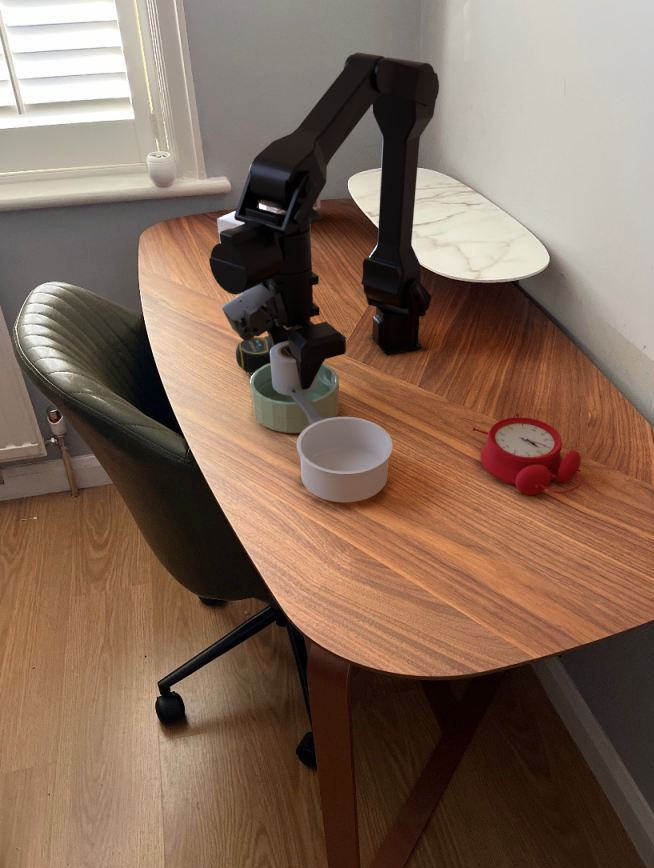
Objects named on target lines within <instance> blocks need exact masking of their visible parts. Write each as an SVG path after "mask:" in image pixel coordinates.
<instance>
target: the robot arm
mask: <svg viewBox="0 0 654 868" xmlns="http://www.w3.org/2000/svg"><path fill="white" fill-rule="evenodd" d="M439 91H440V80H439V75H438V72H435V70H434V67H433V66H432V64H430V63H429V62H422V61H415V60H409V59H401V58H394V57H387V56H383V55H379V54H373V53H372V54H371V53H366V52H355V53H353V54H350V55H349V56H347V58H346V60H345V62H344V65H343V69H342V70H341V72H340V74H338V76H337V77H336V79H335V80H334V81H333V82H332V84H330V86H329V87H328V89H327V90H326V91H325V92H324V93H323V95H322V96H321V97H320V99H319V100H318V101H317V102H316V104H315V105H314V106H313V108H311V110H310V111H309V113H308V114H307V116H305V118H304V119H303V121H302V122H301V123H300V124H299V125H298V127H297V128H295V129H294V131H292V132H291V133H289V134H287V135H285V136H282V137H279V138H277V139H275V140H273V141H272V142H270V143H269V144H268V145H267V146H266V147H265V148H263V150H261V151H260V152H259V153H258V154H257V155H256V156H255V157H254V158H253V161H252V162H251V164H250V166H249V168H248V175H247V178H246V180H245V183H244V186H243V189H242V193H241V195H240V198H239V200H238V201H239V202H238V204H237V207H236V210H235V211H236V212H235V215H234V219H235V220H237V221H240V222H244V224H242V225H240V226H237V227H235V228H228V229H225V230H223V231H221V232H220V240H219V243H217V244H215V245H214V246H213V247H212V249H211V252H210V257H209V259H208V262H209V267H210V271H211V274H212V277H213V278H214V280H215V281H216V283H217V284H218V286H219V287H221V289H222V290H223V291H225V292H226V293H228V294H230V295H237V296H235V297H234V298H232V299H231V300H229V301H227V302H226V303H225V304H223V306H222V308H221V310H222V311H223V314H224V315H225V318H226V319H227V321H228V323H229V325H230V327H231V328H232V330H233V331H234V332H235V333H236V334H237V335H238V336H239V337H240V339H242V341H243V340H249V339H252V338H253V337H261V335H263V334H264V333H266V334H267V336H269V338H270V341H271V343H272V346H275V345H276V344H278V343H281V342H284V341H289V348H285V351H286V352H287V353H288V354H289V355H290V356H292V357H293V358H294V359H295V360H296V365H297V370H298V375H299V380H300V384H301V388H302V389H303V390H305V389H309V388H310V387H311V385H312V383H313V381H314V379H315V377H316V375H317V373H318V371H319V369H320V367H321V365H322V364H324V362H325V360H329V359H331V358H335V357H339V356H343V355H345V354H346V352H347V337H346V336H345V335H344V334H343V333H341V332H340V331H339V330H337V328H335V327H334V326H333V325H332V324H330V323H329V322H328V321H323V322H318V323H314V322H313V321H312V320H311V318H312V317H317V316H320V315H321V314H320V313H321V311H320V307H319V306H318V305H317V304H316V303H315V302H314V290H313V289H314V287H313V286H316V285H320V276H319V275H318V274H317V273H315V272H314V271H313V264H312V263H313V261H312V237H311V235H312V234H311V225H313V224H316V223H317V222H320V221H321V220H322V214H321V213H319V212H318V210H314V209H313V207H314V205H315V204H316V203H317V198H318V197H319V195H320V196H321V193H322V191H323V189H324V188H325V186H326V184H327V175H328V174H327V171H328V170H327V169H328V165H329V163H330V161H331V159H332V158H333V157H334V155H335V154H336V153H337V151H338V150H339V149H340V147H341V146H342V145H343V143H344V142H345V141H346V140H347V138H348V137H349V135H350V134H351V133H352V132H353V130H354V129H355V128H356V127H357V125H358V124H359V122H360V121H361V120H362V118H363V117H364V116H365V114H366V113H367V112H368V110H369V109H370V108H371V111H372V112H371V113H372V116H373V118H374V120H375V122H376V125H377V126H378V129H379V131H380V133H381V136H382V147H381V164H380V165H381V166H380V186H379V206H378V207H379V208H378V226H377V227H378V228H377V231H378V232H377V243H376V246H375V247H374V249H373V251H372V252H371V253H370V255H369V256H368V257H365V258H364V259H363V261H362V278H361V282H360V284H361V285H362V286H363V288H362V289H363V292H364V295H365V298H366V302H367V305H368V306H370V307H372V306H373V307H375V315H373V316H372V334H371V339H372V341H373V342H374V343H375V344H376V346H377V347H378V348H379V349H380V351H382V353H384V355H391V354H397V353H398V354H399V353H403V352H404V353H405V352H410V351H415V350H421V349H423V343H421V341H420V340H419V331H420V318H421V317H425V316H426V311H428V310H429V307H430V305H431V300H432V294H431V293H430V292H429V290H427V288H426V287H425V286H424V285H423V283H422V282H421V281H422V280H421V279H422V277H421V262H420V260H419V258H418V256H417V254H416V252H415V249H414V248H413V245H412V244H413V243H412V241H413V229H414V216H415V203H416V193H417V192H416V189H417V179H418V167H419V166H418V165H419V152H420V141H421V137H422V135H423V133H424V131H425V129H426V128H427V127H428V125H429V124H430V122H431V121H432V120H433V117H434V115H435V108H436V103H437V99H438V95H439ZM259 203H260V204H261V205H265V206H269V207H272V208H276V209H280V210H283V211H284V212H281V213H279V214H278V213H274V212H271V211H267V210H264V209H260V208H259V207H258V205H259Z"/></svg>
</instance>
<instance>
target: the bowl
mask: <svg viewBox="0 0 654 868" xmlns="http://www.w3.org/2000/svg"><path fill="white" fill-rule="evenodd" d="M249 390H250V399H251V409H252V414H253V417H254V418H255V420H256V422H258V423H259V424H260V425H262V426H263V427H265V428H268V429H270V430H272V431H276V432H279V433H283V434H301V433H302V431H303V430H304V429H306V428H307V427H308V426H310V424H309V421H308V419H307V416H306V414H305V412H304V411H303V410H302V409H301V407H300V406H299V405H298V404H297V403H296V402H295V400H294V399H293V398H292V397H291V396H287V395H283V394H280V393H278V392H277V391H275V390H274V388H273V386H272V373H271V363H269V364H267V365H264V366H263V367H261V368H260V369H258V370H256V372H255V373H252V375H251V377H250V381H249ZM303 396H304V397H305V398H306V400H307V401H308V402H309V403H310V404H311V405H312V406H313V407H314V408H315V409H316V411H317V412H318V413H319V414H320V416H321V417H323V418H325V419H328V418H333V417H338V414H339V412H340V377H339V375H338V373H337V372H336V371H335V369H334V368H332V367H330V366H329V365H327V364H326V363H323V364H322V365H321V367H320V369H319V371H318V386H317V388H316V389H315V390H314V391H312V392H311V393H308V394H305V395H303Z"/></svg>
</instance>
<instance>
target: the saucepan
mask: <svg viewBox="0 0 654 868" xmlns="http://www.w3.org/2000/svg"><path fill="white" fill-rule="evenodd" d="M287 392H288V393H289V394H290V396H291V397H292V398H293V399H294V400H295V402H296V403H297V404H298V405H299V406H300V407H301V409H302V410H303V411H304V412H305V414H306V416H307V419H308V421H309V424H310V426H308V427H307V428H306V429H304V430H303V431H302V433H299V435H298V437H297V439H296V450H297V454H298V455H299V458H300V477H301V481H302V483H303V485H304V488H305V489H306V490H308V491H309V492H310V493H311V494H313V495H314V496H316V497H318V498H320V499H323V500H326V501H329V502H334V503H335V502H336V503H354V502H361V501H364V500H367V499H369V498H371V497H374V496H375V495H377V494H378V493H380V491H382V489H384V487H385V486H386V484H387V482H388V476H389V458H390V456H391V454H392V452H393V451H392V450H393V440H392V438H391V436H390V434H389V433H388V432H387V430H385V428H383V426H381V425H379V424H377V423H375V422H373V421H370V420H368V419H364V418H361V417H354V416H336V417H333V418H328V419H325V418H323V417H321V416H320V414H319V413H318V412H317V411H316V409H315V408H314V407H313V406H312V405H311V404H310V403H309V402H308V401H307V400H306V398H305V397H304V396H303V395H302V394H301V393H300V392H299V391H298V390H297V389H296V387H291V388H288V389H287Z"/></svg>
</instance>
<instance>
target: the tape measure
mask: <svg viewBox="0 0 654 868" xmlns="http://www.w3.org/2000/svg"><path fill="white" fill-rule="evenodd" d="M272 347H273V346H272V343H271V341H270V338H269V336H268V335H265V336H263V337H261V336H255V337H253V338H252V339H249V340H243V339H242V340H241V341H240V342H239V343H238V344H237V346H236V349H235V359H236V363H237V365H238V367H239V368H240V369H241V370H242V371H244V372H246V373H249V374H254V373H255V372H256V370H258V369H260V368H261V367H263V366H264V365H267V364H269V363H271V361H270V350H271V348H272Z"/></svg>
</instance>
